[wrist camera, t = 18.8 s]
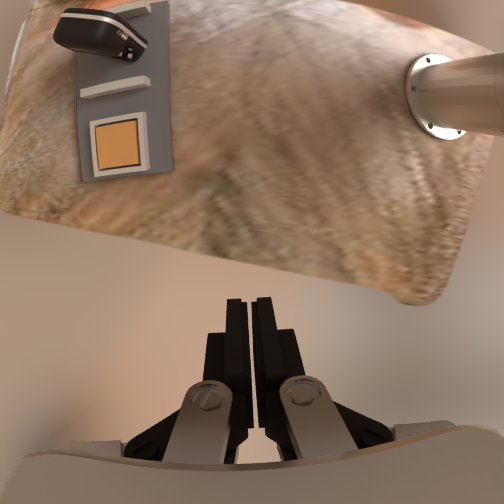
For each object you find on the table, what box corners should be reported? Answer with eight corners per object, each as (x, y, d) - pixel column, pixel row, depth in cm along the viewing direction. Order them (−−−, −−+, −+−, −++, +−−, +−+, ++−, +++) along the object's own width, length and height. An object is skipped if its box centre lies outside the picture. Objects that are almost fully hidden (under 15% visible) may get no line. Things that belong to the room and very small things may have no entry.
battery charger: (91, 59, 27) (41, 41, 17) (103, 32, 26) (58, 6, 16) (138, 70, 29) (98, 49, 18) (151, 42, 27) (117, 10, 17)
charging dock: (169, 4, 27) (162, -7, 23) (174, 169, 35) (167, 174, 32) (83, 25, 26) (69, 18, 23) (88, 180, 35) (73, 186, 31)
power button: (138, 120, 31) (134, 120, 30) (141, 162, 33) (137, 163, 32) (99, 127, 31) (95, 127, 29) (103, 167, 33) (99, 169, 31)
